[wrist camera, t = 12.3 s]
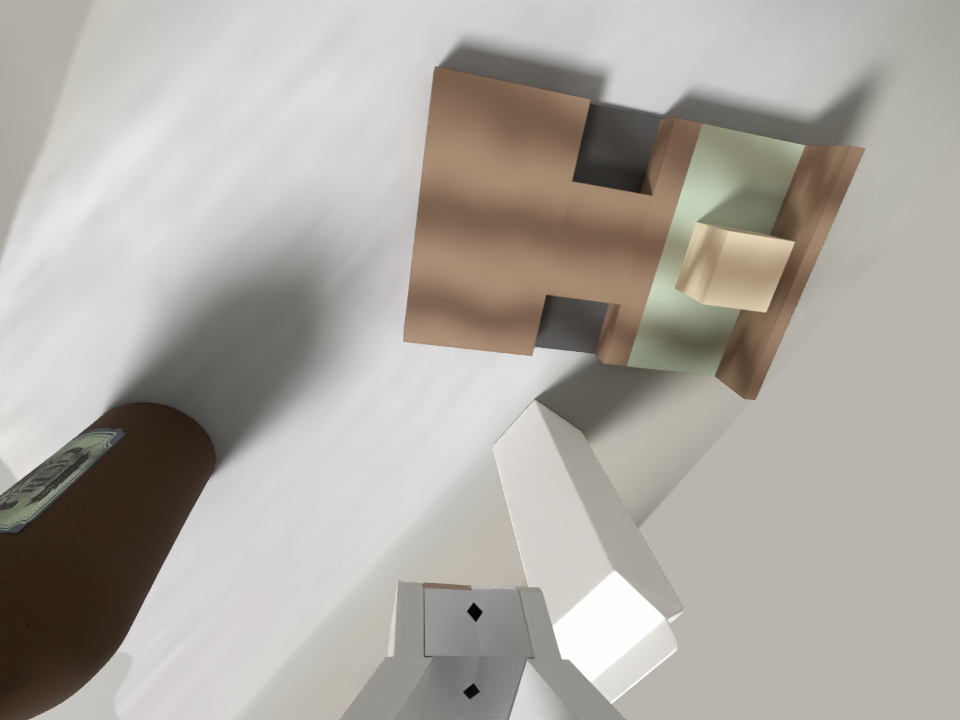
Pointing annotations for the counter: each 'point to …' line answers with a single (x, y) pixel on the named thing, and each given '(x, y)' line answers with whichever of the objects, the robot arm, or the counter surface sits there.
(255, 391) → the counter surface
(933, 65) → the counter surface
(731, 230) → the block
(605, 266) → the board
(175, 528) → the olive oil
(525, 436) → the milk
